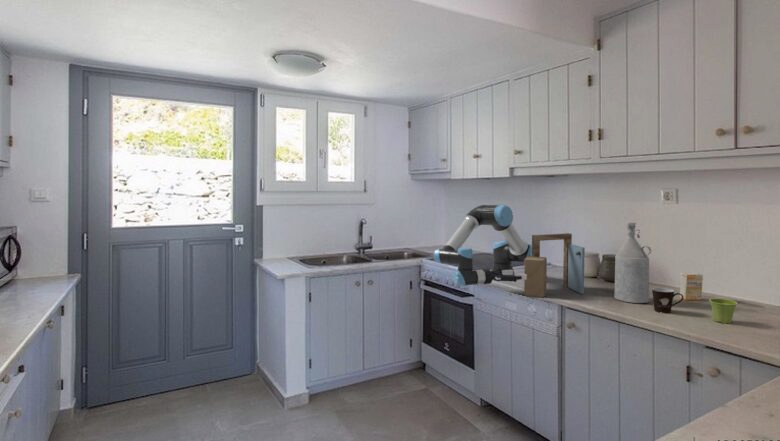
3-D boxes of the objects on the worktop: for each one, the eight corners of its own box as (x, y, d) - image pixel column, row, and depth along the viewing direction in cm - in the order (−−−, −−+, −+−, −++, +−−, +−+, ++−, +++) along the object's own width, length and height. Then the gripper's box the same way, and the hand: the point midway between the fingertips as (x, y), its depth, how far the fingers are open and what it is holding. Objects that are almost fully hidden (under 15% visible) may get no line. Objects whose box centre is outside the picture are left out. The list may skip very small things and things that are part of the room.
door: (564, 287, 245) (565, 243, 244) (569, 286, 246) (570, 243, 244) (578, 294, 229) (579, 247, 227) (583, 293, 229) (584, 247, 227)
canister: (641, 306, 206) (643, 224, 203) (608, 298, 221) (609, 221, 218) (656, 302, 212) (659, 222, 209) (623, 295, 227) (625, 220, 224)
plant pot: (741, 325, 176) (742, 304, 175) (716, 324, 177) (717, 303, 177) (728, 318, 185) (728, 298, 184) (703, 317, 187) (704, 298, 186)
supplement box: (685, 300, 215) (686, 274, 214) (679, 298, 219) (680, 272, 218) (702, 300, 214) (703, 274, 213) (695, 297, 219) (696, 272, 218)
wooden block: (524, 295, 230) (524, 258, 228) (527, 291, 238) (527, 256, 237) (543, 297, 225) (544, 260, 223) (546, 293, 234) (546, 257, 232)
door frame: (531, 289, 244) (532, 235, 242) (567, 286, 250) (568, 233, 247) (534, 290, 241) (535, 235, 239) (571, 287, 247) (571, 233, 244)
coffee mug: (649, 311, 197) (649, 290, 197) (654, 307, 203) (654, 286, 203) (678, 316, 189) (679, 294, 188) (683, 312, 195) (684, 290, 194)
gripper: (472, 279, 236) (507, 276, 241) (494, 289, 212) (532, 286, 217) (472, 265, 235) (507, 263, 240) (494, 274, 211) (532, 271, 216)
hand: (519, 274), depth 228 cm, fingers open, 13 cm apart
